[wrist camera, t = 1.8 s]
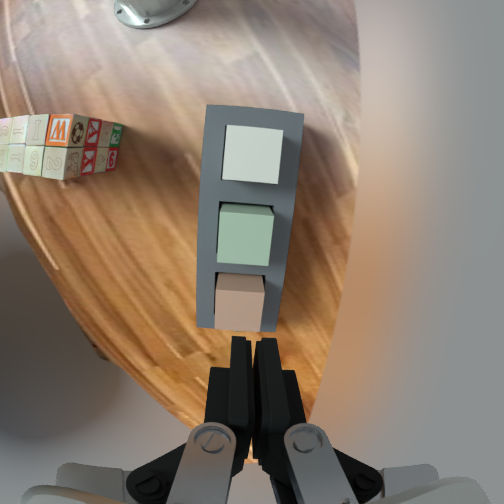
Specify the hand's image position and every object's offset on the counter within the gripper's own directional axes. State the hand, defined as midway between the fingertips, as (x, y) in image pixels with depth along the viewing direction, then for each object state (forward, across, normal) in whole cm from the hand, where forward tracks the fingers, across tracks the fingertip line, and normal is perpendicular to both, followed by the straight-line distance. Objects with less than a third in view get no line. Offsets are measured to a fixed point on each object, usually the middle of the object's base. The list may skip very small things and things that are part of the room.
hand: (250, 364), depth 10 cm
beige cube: (+21, 0, +8) cm, 23 cm away
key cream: (+22, 0, -8) cm, 23 cm away
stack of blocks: (+25, +27, -10) cm, 39 cm away
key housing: (+25, 0, 0) cm, 25 cm away
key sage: (+22, 0, 0) cm, 22 cm away
